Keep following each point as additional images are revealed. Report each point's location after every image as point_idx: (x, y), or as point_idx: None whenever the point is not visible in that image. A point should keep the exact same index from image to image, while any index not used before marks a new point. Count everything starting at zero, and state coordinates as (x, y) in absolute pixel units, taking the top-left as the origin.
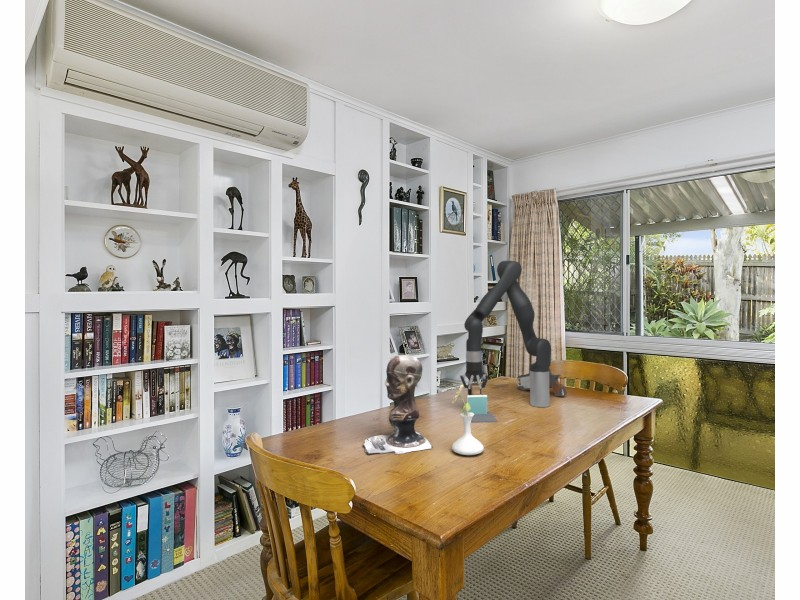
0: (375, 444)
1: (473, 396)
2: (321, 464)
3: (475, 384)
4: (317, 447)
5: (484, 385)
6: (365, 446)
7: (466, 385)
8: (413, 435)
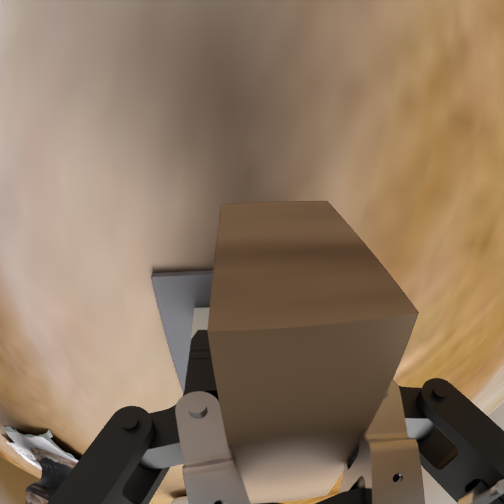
0: (34, 461)
1: None
2: (19, 467)
3: (322, 442)
4: None
5: (419, 440)
6: (25, 459)
7: (163, 474)
8: None
